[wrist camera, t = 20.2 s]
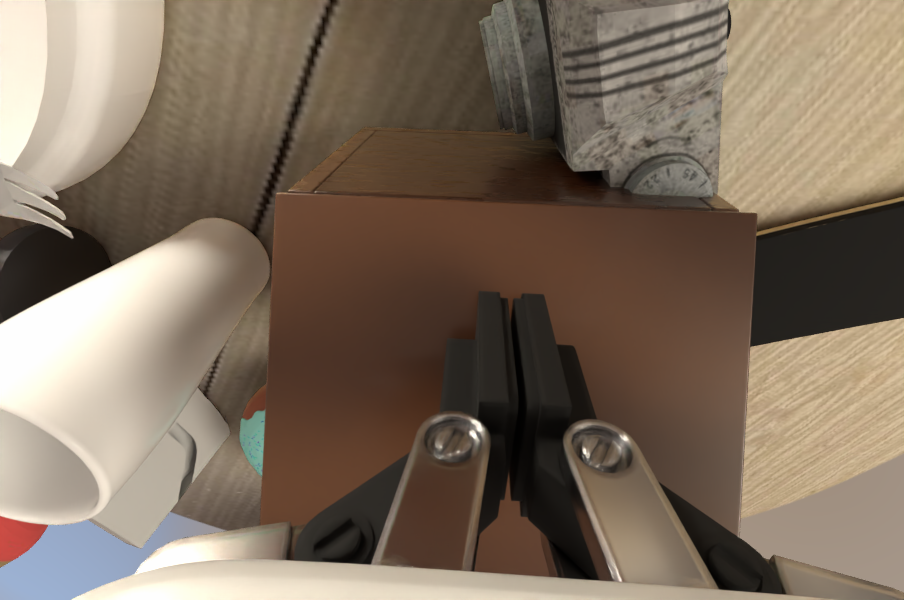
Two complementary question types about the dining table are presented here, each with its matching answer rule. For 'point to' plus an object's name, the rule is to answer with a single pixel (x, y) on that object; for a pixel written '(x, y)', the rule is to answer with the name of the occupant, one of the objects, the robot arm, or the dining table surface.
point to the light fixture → (44, 265)
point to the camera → (616, 85)
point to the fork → (27, 199)
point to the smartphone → (829, 273)
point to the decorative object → (17, 538)
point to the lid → (511, 273)
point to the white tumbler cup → (115, 367)
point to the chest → (474, 172)
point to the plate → (74, 83)
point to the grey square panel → (165, 473)
